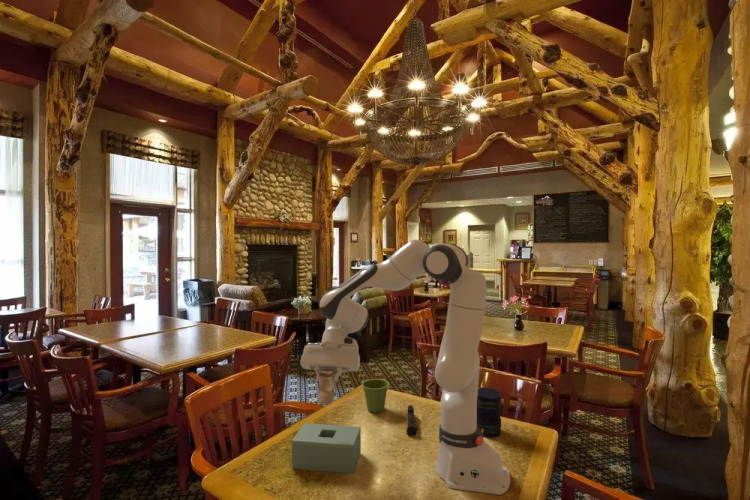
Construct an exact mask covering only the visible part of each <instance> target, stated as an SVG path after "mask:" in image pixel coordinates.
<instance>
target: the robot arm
mask: <svg viewBox="0 0 750 500" xmlns="http://www.w3.org/2000/svg"><path fill="white" fill-rule="evenodd" d="M468 264H469V260H468V255H467V253H466V252H465V250H464V249H463V248H462V247H460V246H458V245H455V244H451V243H442V244H436V245H433V246H431V247H430V246H428V244H427V243H426V242H424V241H422V240H420V239H412V240H410V241H409V242H407V243H405V244H404V245H402V246H401V247H400V248H399V249H397V250H396V251H395V252H394V253H393V254H392V255H391V256H390V257H389V258H387V259H386V260H384V261H382V262H379V263H376V264H373V263H372V264H369V265H366V266H365V267H363V268H361V269H360V270H359V271H357V272H355V273H354V274H353V275H352V276H350V277H349V278H348V279H346V280H345V281H344V282H342V283H340V285H338V286H336V287H335V288H332V289H331V290H329V291H327V292H325V293H324V294H323V295H322V297H321V298H320V300H319V303H318V310H319V312H320V314H321V316H322V317H323V318H325V319H326V320H325V324H324V325H325V330H324V331H323V334H322V337H321V338H322V339H321V342H315V343H314V342H309V343H307V344H306V345H304V348H303V352H302V354H301V357H300V358H301V359H300V360H299V361H300V362H299V363H300V366H301V368H302V369H304V370H305V369H306V370H314V371H315V374H316V377H315V381H316V382H319V373H320V371H321V370H322V369H334V371H337V372H336V373H335V374H334V375H333V378H332V382H334V383H338V378H339V377H340V376H341V375H342V374H343V372H344V371H346V372H357V371H358V370H359V369H360V364H361V363H360V362H361V361H360V360H361V359H360V353H359V345H358V342H357V340H356V339H354V338H352V337H349V336H348V334H354V333H357V332H360V331H362V330H364V328H366V327H367V324H368V321H369V310H368V308H366V307H365V306H363V305H362V304H360V303H359V302H357V301H355V300H353V299H352V298H350V297H352V296H353V295H355V294H356V293H358V292H359V291H361V290H362V289H364V288H378V289H382V290H386V291H390V292H391V291H392V292H396V291H402V290H404V289H405V288H407V287H408V286H410V285H411V284H412V283H413V282H414V281H415V280H416V279H417V278H418V277H419V276H420V275H422V274H423V273H424V272H425V273H426V274H427V275H428V276H429V277H431V278H433V279H434V280H437V281H438V282H440V283H443V284H444V285H446V286H449V289H450V293H449V299H448V300H449V301H448V307H447V314H446V321H445V328H444V332H443V336H442V340H441V344H440V348H439V351H438V356H437V362H436V365H435V370H434V378H435V381H436V383H437V385H438V386H439V387H440V388H441V389H442V393H441V397H440V424H439V426H438V427H439V428H438V440H439V450H438V457H437V461H436V464H435V469H434V470H435V472H436V474H437V476H438V477H439V478H441V479H442V480H443V481H444V482H445V483H446V484H447V486H448V487H449V488H450V489H455V490H462V491H469V492H476V493H484V494H491V495H492V494H493V495H503V494H505V493H507V491H508V490H509V488H510V486H511V474H510V471H509V469H508V468H507V467H506V466H504V465H503V463H502V459H501V456H500V453H499V452H498V451H497V450H496V449H494V448H493V447H492V446H490V445H489V443H488V442H486V441H485V440H484V437H483V428H482V431H481V430H480V429H479V428H478V427H477V395H478V388H479V381H480V354H479V346H480V341H481V338H482V335H483V334H482V333H483V326H484V320H485V319H484V318H485V313H486V306H487V305H486V304H487V279H486V277H485V275H484V274H483V273H482V272H481V271H478V270H476V269H473V268H470V267H468Z"/></svg>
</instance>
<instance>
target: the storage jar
mask: <svg viewBox="0 0 750 500" xmlns="http://www.w3.org/2000/svg"><path fill="white" fill-rule="evenodd" d="M501 409H502V393H501V391H499V390H497V389H495V388H492V387H491V388H490V387H478V395H477V427H478V428H479V429H480V430H481V431H482V428H483V438H488V439H495V438H498V437H500V436H501V435H502V418H501Z"/></svg>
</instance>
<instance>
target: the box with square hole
mask: <svg viewBox="0 0 750 500" xmlns="http://www.w3.org/2000/svg"><path fill="white" fill-rule="evenodd" d="M361 429H362V427H361V426H352V425H351V426H350V425H349V426H348V425H334V424H321V423H309V422H308V423H305V422H304V423H303V425H302V426H301V427H300V429H299V430H298V431H297V433H296V435H294V437H293V439H292V440H291V468H292V469H295V470H306V471H316V472H326V473H327V472H330V473H337V474H338V473H339V474H351V475H353V474H354V473H355V471H356V468H357V464H358V462H359V459H360V457H361V453H362V451H361V450H362V449H361V448H362V446H361V444H362V443H361V441H362V440H361V438H362V437H361V433H362V432H361V431H362V430H361Z"/></svg>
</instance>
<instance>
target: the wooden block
mask: <svg viewBox="0 0 750 500" xmlns="http://www.w3.org/2000/svg"><path fill="white" fill-rule="evenodd" d="M318 373H319V381H318V383H319V386H318V388H319V389H318V390H319V392H318V393H319V397H318V398H319V402H318V403H319V404H324V405H325V404H329V405H332V404H333V402H334V400H335V382H332V378H333V375H335V370H334V369H322V370H320V372H318Z"/></svg>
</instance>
